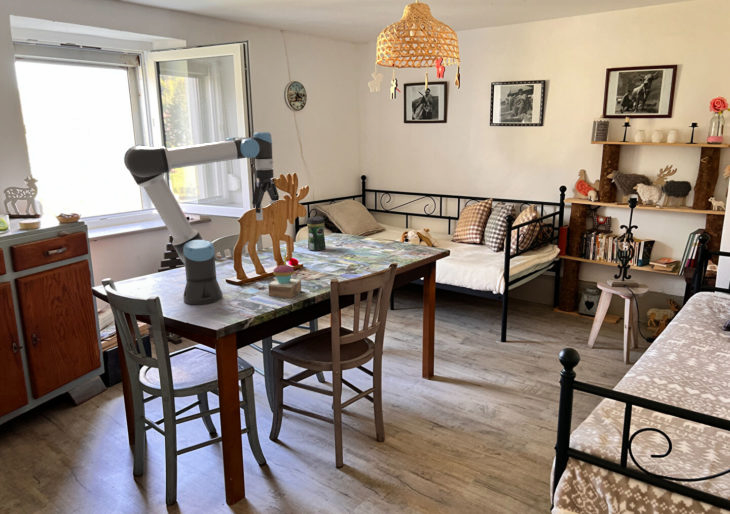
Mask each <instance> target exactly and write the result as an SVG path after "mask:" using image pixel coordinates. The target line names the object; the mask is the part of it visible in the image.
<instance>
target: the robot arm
mask: <svg viewBox="0 0 730 514" xmlns="http://www.w3.org/2000/svg"><path fill="white" fill-rule="evenodd" d="M253 158H254V164H255V167H254V168H255V169H256V170H255V178H256V179H258V181H254V192H253V197H252V203H251V204H252V205H253V206H255V218H256V219H255V220H256V221H263V220H264V216H263V215H264V213H263V212H264V211H263V204H262V202H263V199H264V195H265V193H266V192H267V194H268V196H269V198H270V201H269V202H270V204H272V203H274V202H276V201H277V202H278V201H279V200H280V199H279V197H280V196H279V191H278V188H277V186H276V182H274V181H276V179H275V178H274V169H273V168H274V160H273V140H272V134H271V133H270V132H269V131H268V132H266V131H265V132H264V131H263V132H259V131H258V132H257V131H256V132H254V133H253V136H252V137H251V136H250V137H228V138H225V140H223V141H218V142H217V141H216V142H210V143H208V142H207V143H200V144H195V145H194V144H193V145H187V146H180V147H171V148H167V147H165V146H158V147H151V146H148V145H143V144H136V145H133V146H131V147H130V148H128V149H127V150H126V151H125V154H124V158H123V161H124V166H125V168H126V169H127V170H128V171H129V173H130V174H131V176H132V178H133V179H134V181H135V183H136V185H137V186H140V187H143V189H144V190H145V192H146V195H147V196H148V197H149V199H150V201H151V202H152V204H153V206H154V208H155V210H156V211H157V213H158V215H159V216H160V218H161V220H162V223H164V225H165V227H166V229H167V231H169V233H170V235H171V237H172V238H173V239H172V242H171V244H172V246H173V249H174V250H175V252H176V253H177V254H178V255H177V256H178V258H179V259H180V261H181V262H182V263H183V265H184V268H185V269H184V271H185V279H186V280H185V281H186V283H185V288H184V292H183V297H182V298H183V302H184V303H186V304H188V305H197V306H198V305H200V306H201V305H209V304H212V303H217V302H219V301H221V300H222V299H223V292H222V289H221V287H220V284H219V282H218V279H217V266H216V257H215V256H216V255H215V254H216V252H215V251H216V250H215V246H214V244H213V242H211V241H210V240H205V239H203V238H202V236H201V234H200V232H199V230H197V229H193V227H192V226H191V224H190V222H189V220H188V219H187V217H186V215H185V213H184V211H183V210H182V208H181V206H180V204H179V202H178V200H177V199H176V197H175V196H174V193H173V192H172V190H171V188H170V186H169V184H168V182H167V181H166V179H165V174H166V173H170V172H171V171H172V170H175V169H181V168H187V167H193V166H200V165H201V166H202V165H207V164H214V163H219V162H220V163H221V162H227V161H233V160H240V159H253ZM274 179H275V180H274ZM272 180H273V182H272ZM273 183H274V184H273ZM277 202H276V203H277ZM274 204H275V203H274ZM258 208H261V209H258Z"/></svg>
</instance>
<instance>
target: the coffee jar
mask: <svg viewBox="0 0 730 514" xmlns="http://www.w3.org/2000/svg"><path fill="white" fill-rule="evenodd" d="M306 225H307V229H308V232H307V233H308V236H307V237H308V238H307V248H308V249H307V250H309V251H311V252H313V251H315V252H317V251H318V252H319V251H323V250H325V249H326V248H327V247H326V240H325V239H326V238H325V218H324V216H311V217H307V218H306Z"/></svg>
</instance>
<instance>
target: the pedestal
mask: <svg viewBox="0 0 730 514" xmlns="http://www.w3.org/2000/svg"><path fill="white" fill-rule="evenodd" d="M267 286H268V296H269V297H276V298H277V297H278V298H287V299H288V298H290V299H292V298H293V297H295V296H296V295H297V294H299V293H300V292H302V279H299V278H291V279H290V282H289V283H279V282H278V280H277V278H276V279H274V280H273V281H271V282H270V283H268V285H267Z"/></svg>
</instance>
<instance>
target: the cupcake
mask: <svg viewBox="0 0 730 514" xmlns="http://www.w3.org/2000/svg"><path fill="white" fill-rule="evenodd" d="M286 254H287V253H286V252H285V253H284V256H283V258H284V259H283V260H284V261H283V264H280V265H278V266H276V267H275V268H274V269H273V273H272V274H273V276H275V277H276V279H277V280H278V282H279V283H289V282H290V279H292V276H293V275H294V272H295V270H294V268H293V267H292V266H290V265H288V264H286V263H287V255H286Z"/></svg>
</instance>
